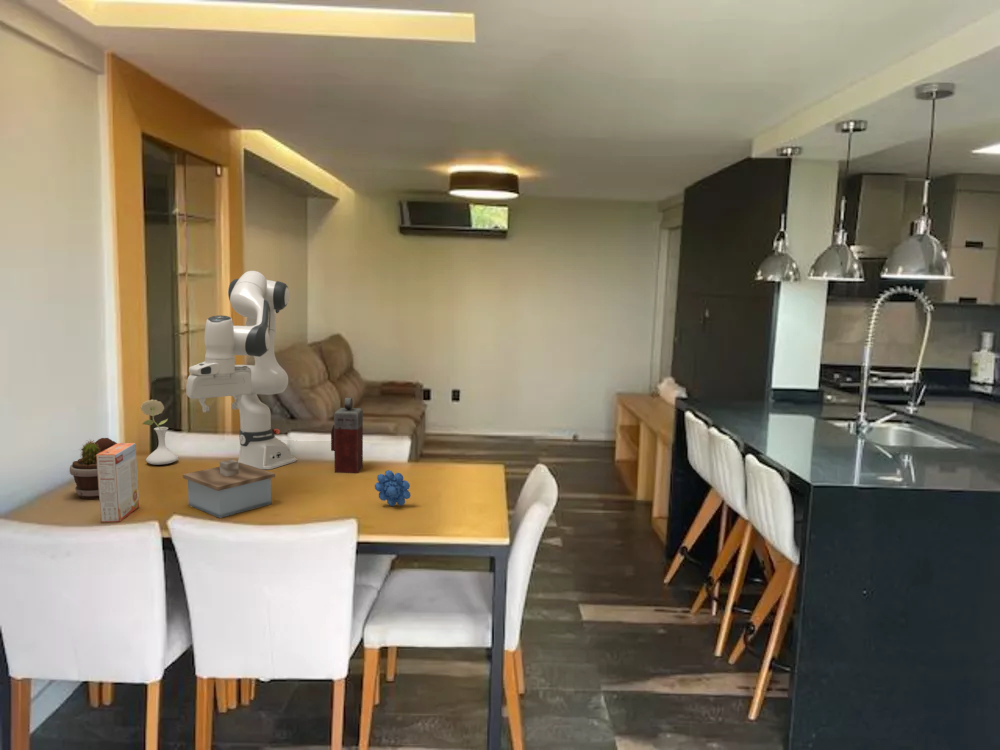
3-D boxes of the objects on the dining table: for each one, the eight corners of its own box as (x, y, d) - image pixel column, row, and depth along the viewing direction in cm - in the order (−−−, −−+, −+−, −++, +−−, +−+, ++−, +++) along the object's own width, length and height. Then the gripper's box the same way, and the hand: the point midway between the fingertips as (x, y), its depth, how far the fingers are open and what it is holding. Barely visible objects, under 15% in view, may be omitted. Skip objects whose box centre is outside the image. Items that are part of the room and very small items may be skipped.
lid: (239, 465, 239) (239, 450, 238) (275, 477, 227) (274, 461, 226) (183, 478, 223) (182, 462, 222) (217, 490, 211) (217, 474, 210)
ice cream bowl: (122, 482, 247) (120, 440, 245) (87, 483, 244) (84, 441, 242) (130, 473, 257) (128, 433, 255) (96, 474, 255) (94, 434, 253)
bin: (239, 492, 239) (238, 466, 237) (271, 504, 228) (270, 477, 227) (188, 505, 225) (187, 478, 223) (220, 518, 214) (219, 489, 213)
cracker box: (120, 507, 221) (116, 442, 218) (140, 507, 222) (137, 442, 219) (98, 522, 207) (95, 453, 204) (120, 522, 208) (116, 453, 205)
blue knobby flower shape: (372, 510, 225) (372, 473, 223) (375, 503, 232) (375, 467, 230) (409, 510, 225) (409, 474, 224) (411, 503, 232) (411, 468, 230)
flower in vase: (183, 459, 278) (181, 397, 275) (171, 467, 267) (169, 402, 264) (149, 459, 278) (146, 396, 274) (136, 466, 266) (133, 401, 263)
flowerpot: (84, 488, 239) (81, 430, 237) (130, 488, 240) (128, 431, 238) (60, 501, 225) (56, 440, 222) (110, 501, 226) (107, 441, 223)
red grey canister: (334, 466, 275) (333, 395, 271) (362, 466, 275) (362, 396, 271) (328, 472, 266) (327, 399, 262) (357, 473, 266) (357, 400, 262)
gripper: (246, 364, 232) (247, 406, 234) (183, 368, 218) (184, 412, 219) (255, 366, 228) (256, 408, 229) (192, 369, 213) (193, 415, 215)
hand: (220, 410), depth 224 cm, fingers open, 8 cm apart
